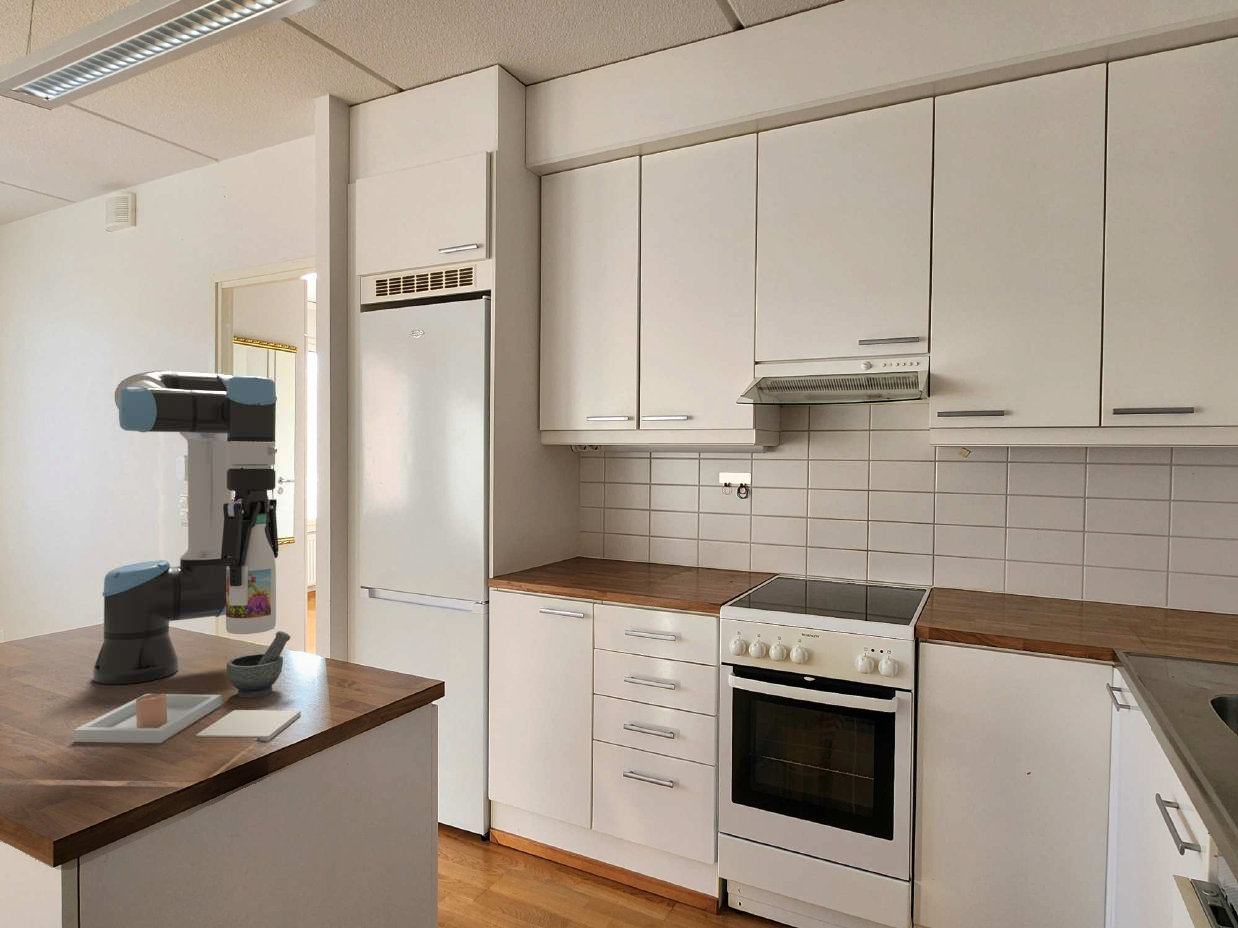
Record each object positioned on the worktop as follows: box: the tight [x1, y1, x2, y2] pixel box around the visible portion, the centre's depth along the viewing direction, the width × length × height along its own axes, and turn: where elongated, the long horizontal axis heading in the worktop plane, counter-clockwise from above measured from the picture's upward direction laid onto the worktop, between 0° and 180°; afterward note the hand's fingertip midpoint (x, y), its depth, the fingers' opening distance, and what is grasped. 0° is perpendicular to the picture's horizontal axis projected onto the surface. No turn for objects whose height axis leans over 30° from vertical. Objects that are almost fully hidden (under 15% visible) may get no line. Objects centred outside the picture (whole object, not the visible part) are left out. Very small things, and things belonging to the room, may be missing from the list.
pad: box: [195, 709, 302, 742], centre depth 129 cm, size 12×12×1 cm
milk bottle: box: [225, 514, 277, 635], centre depth 128 cm, size 8×8×20 cm
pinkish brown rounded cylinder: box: [135, 693, 167, 728], centre depth 127 cm, size 4×4×5 cm
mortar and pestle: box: [226, 630, 291, 698], centre depth 146 cm, size 11×9×12 cm
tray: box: [73, 693, 223, 744], centre depth 129 cm, size 18×14×2 cm
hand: (251, 599), depth 129 cm, fingers closed on milk bottle, 8 cm apart
